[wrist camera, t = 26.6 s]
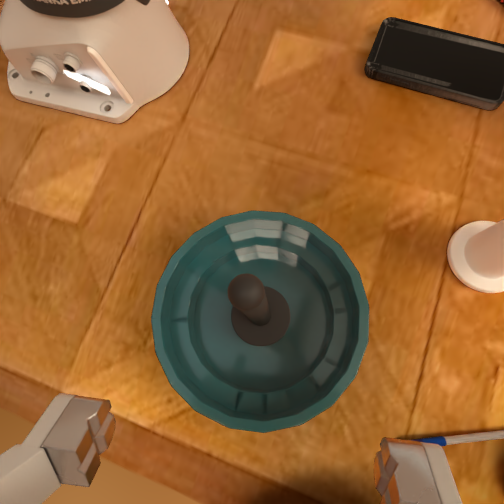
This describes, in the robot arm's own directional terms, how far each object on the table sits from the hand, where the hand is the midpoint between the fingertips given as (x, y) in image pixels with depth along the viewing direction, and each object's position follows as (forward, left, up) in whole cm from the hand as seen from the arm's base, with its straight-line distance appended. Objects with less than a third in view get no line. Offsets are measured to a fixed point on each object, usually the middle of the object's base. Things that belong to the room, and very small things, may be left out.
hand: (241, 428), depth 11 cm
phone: (+16, +35, -23) cm, 45 cm away
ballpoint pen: (+17, -4, -22) cm, 28 cm away
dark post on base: (-1, +5, -23) cm, 23 cm away
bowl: (-1, +5, -23) cm, 24 cm away
